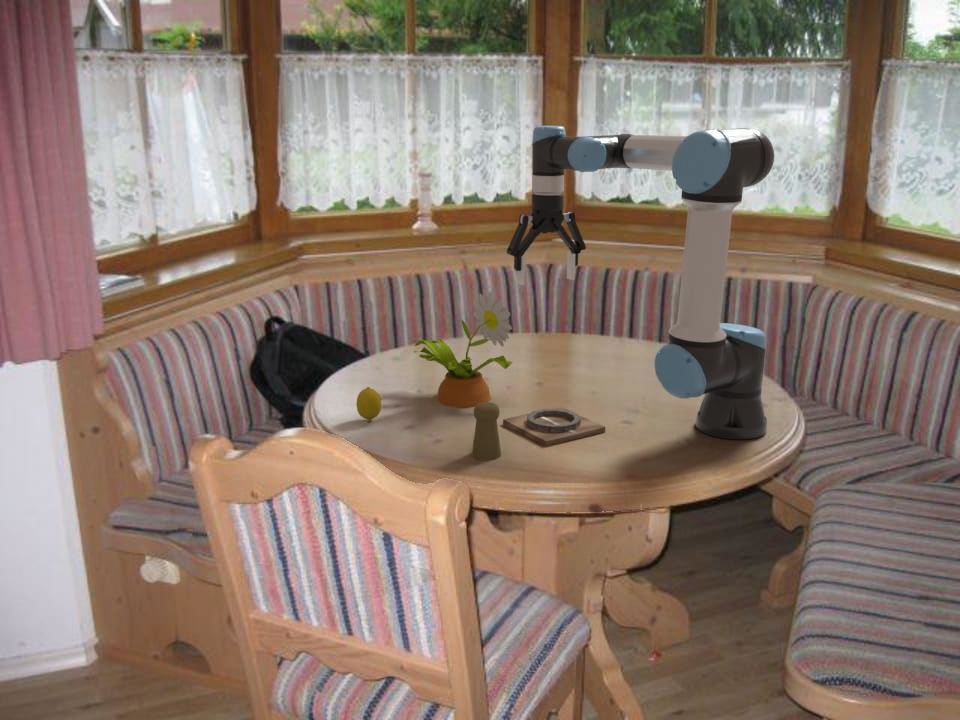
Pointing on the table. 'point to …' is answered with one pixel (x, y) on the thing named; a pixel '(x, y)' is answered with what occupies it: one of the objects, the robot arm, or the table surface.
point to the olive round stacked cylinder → (486, 432)
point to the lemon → (368, 403)
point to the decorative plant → (460, 379)
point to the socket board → (553, 426)
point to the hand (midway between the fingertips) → (546, 281)
